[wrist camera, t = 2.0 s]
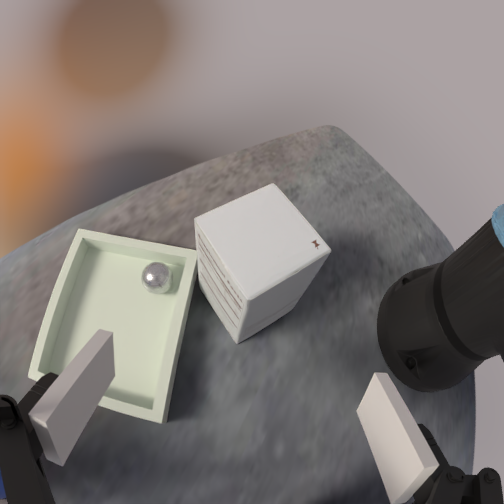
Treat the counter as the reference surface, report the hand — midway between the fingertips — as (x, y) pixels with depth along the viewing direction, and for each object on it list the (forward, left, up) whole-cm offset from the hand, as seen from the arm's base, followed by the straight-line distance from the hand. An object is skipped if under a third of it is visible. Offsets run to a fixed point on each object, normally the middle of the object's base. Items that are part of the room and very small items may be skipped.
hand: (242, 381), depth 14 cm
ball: (+9, -10, -14) cm, 20 cm away
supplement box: (0, -10, -15) cm, 19 cm away
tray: (+12, -5, -15) cm, 20 cm away
